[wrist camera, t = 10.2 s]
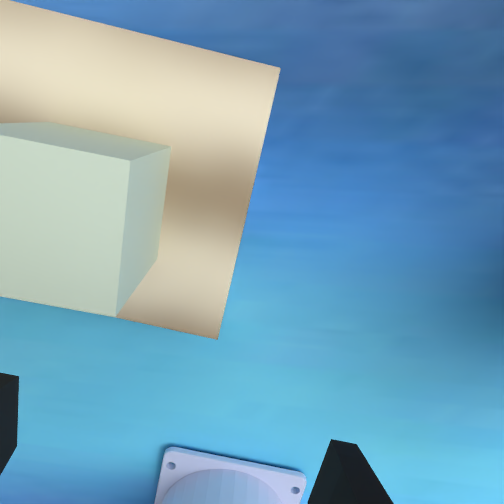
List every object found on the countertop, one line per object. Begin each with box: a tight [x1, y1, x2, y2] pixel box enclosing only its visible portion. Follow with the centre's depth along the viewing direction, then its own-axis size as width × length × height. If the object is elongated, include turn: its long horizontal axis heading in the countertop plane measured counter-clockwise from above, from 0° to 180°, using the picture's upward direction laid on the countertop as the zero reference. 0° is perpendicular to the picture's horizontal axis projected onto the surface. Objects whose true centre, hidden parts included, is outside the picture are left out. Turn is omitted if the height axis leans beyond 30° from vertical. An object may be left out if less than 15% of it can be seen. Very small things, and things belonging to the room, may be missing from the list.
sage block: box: [0, 122, 171, 317], centre depth 13 cm, size 4×4×5 cm
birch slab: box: [0, 0, 280, 340], centre depth 17 cm, size 11×11×3 cm
